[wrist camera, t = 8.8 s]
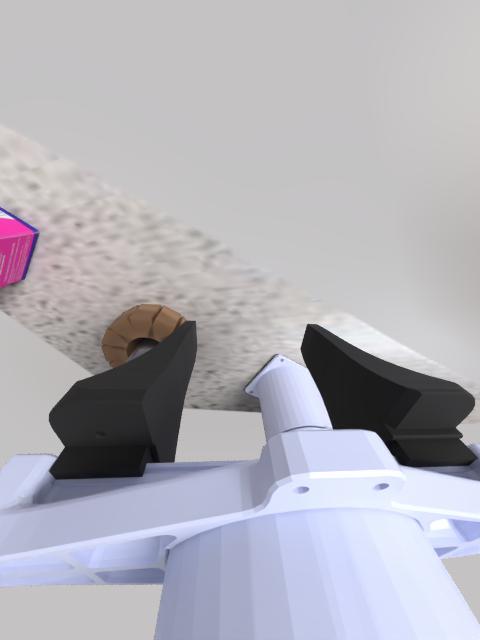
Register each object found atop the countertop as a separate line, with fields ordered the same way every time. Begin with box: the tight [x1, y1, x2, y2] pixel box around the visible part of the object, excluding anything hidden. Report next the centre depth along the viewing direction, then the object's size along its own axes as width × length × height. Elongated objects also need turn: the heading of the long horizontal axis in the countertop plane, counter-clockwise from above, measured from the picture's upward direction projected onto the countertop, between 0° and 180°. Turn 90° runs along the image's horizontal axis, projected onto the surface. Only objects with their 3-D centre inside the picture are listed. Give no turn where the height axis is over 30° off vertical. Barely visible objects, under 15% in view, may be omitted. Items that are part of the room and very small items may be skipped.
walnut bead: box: [102, 304, 187, 368], centre depth 22 cm, size 9×9×3 cm
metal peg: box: [124, 337, 160, 364], centre depth 21 cm, size 3×3×6 cm
